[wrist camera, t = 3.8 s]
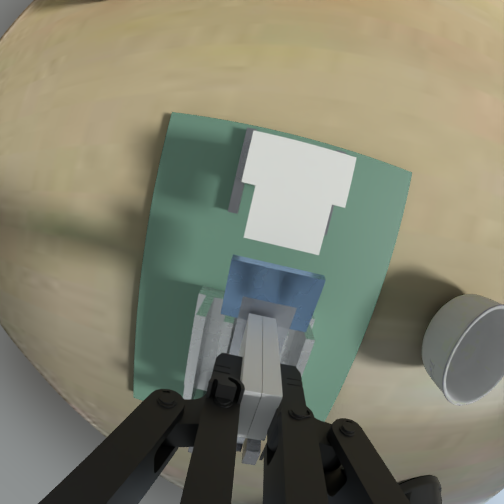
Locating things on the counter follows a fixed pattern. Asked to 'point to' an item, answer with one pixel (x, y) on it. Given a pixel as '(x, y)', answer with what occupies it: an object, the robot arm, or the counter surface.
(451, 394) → the teacup
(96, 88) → the counter surface
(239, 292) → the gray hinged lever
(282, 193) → the block
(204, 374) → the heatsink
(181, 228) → the green base board
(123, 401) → the counter surface
